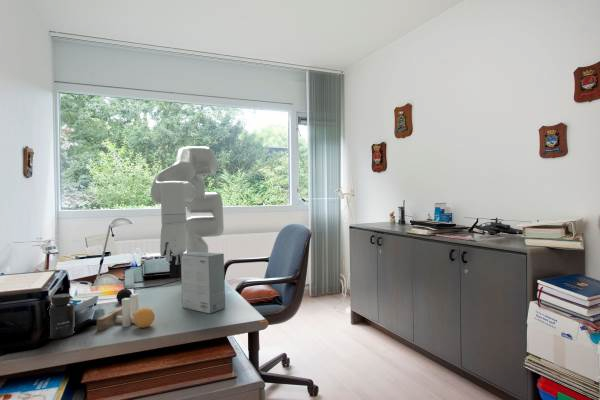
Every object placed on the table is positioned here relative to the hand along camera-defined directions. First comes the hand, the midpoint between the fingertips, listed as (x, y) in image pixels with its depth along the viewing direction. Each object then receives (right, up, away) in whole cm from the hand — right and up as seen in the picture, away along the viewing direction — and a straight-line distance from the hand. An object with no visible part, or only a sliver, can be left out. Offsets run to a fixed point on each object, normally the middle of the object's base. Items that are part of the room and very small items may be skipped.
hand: (175, 276), depth 119 cm
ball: (-9, -12, -3) cm, 15 cm away
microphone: (-31, -16, +32) cm, 47 cm away
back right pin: (-15, -15, +4) cm, 22 cm away
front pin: (-11, -14, +1) cm, 18 cm away
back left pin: (-15, -16, -1) cm, 22 cm away
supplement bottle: (-31, -16, -8) cm, 36 cm away
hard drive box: (+5, -15, +16) cm, 22 cm away
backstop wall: (-21, -16, +2) cm, 26 cm away
